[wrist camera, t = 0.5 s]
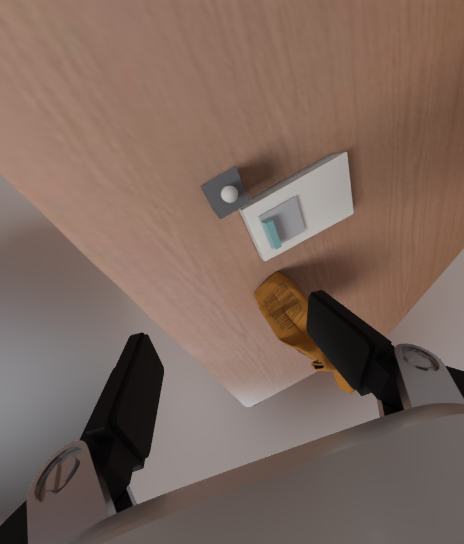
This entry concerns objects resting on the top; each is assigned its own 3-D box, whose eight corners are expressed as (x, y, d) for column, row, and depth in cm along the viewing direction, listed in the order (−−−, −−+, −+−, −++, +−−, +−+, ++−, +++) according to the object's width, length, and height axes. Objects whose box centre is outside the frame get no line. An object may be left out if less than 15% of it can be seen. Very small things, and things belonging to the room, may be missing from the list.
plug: (223, 172, 29) (239, 163, 18) (234, 198, 31) (255, 203, 20) (200, 186, 29) (202, 184, 18) (213, 210, 31) (222, 221, 20)
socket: (331, 153, 30) (346, 149, 27) (340, 212, 36) (353, 215, 33) (237, 206, 31) (241, 208, 28) (259, 256, 37) (265, 262, 34)
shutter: (294, 196, 29) (304, 197, 26) (303, 230, 32) (313, 234, 29) (258, 216, 29) (264, 219, 26) (270, 248, 32) (277, 253, 30)
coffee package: (273, 318, 46) (329, 412, 27) (246, 291, 40) (293, 385, 21) (303, 296, 44) (385, 378, 25) (280, 265, 39) (363, 340, 19)
